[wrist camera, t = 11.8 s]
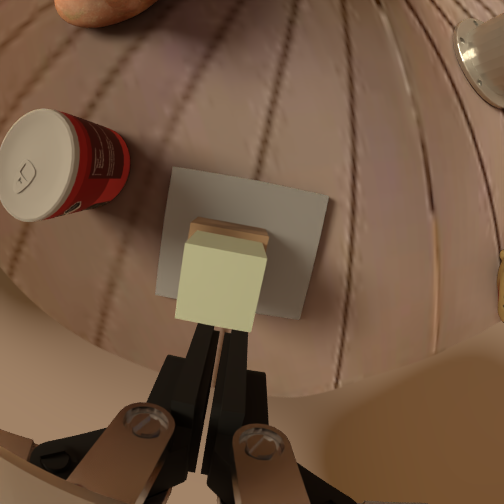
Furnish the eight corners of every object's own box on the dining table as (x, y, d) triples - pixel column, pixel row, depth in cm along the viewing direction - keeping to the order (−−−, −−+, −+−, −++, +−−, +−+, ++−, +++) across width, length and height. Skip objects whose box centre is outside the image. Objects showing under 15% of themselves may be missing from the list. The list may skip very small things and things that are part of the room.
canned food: (55, 185, 27) (-17, 192, 16) (89, 115, 25) (23, 92, 15) (108, 222, 28) (45, 244, 17) (147, 148, 26) (95, 132, 16)
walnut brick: (265, 228, 27) (269, 236, 23) (252, 292, 29) (253, 309, 25) (198, 216, 27) (190, 222, 23) (188, 280, 28) (180, 296, 24)
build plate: (326, 195, 28) (329, 196, 27) (297, 315, 30) (299, 320, 29) (175, 166, 27) (172, 166, 26) (157, 291, 29) (155, 294, 28)
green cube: (262, 242, 24) (267, 258, 19) (249, 303, 25) (250, 332, 20) (197, 230, 23) (185, 242, 18) (187, 291, 24) (174, 317, 19)
